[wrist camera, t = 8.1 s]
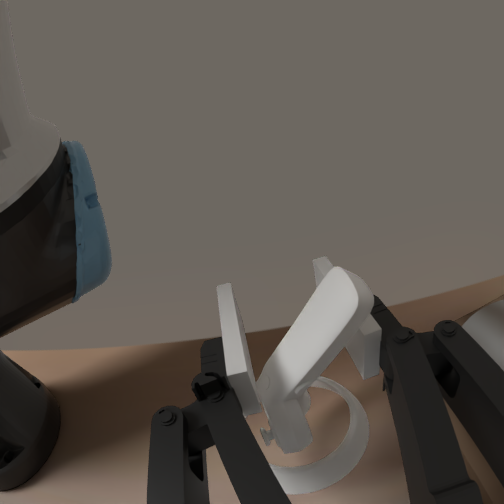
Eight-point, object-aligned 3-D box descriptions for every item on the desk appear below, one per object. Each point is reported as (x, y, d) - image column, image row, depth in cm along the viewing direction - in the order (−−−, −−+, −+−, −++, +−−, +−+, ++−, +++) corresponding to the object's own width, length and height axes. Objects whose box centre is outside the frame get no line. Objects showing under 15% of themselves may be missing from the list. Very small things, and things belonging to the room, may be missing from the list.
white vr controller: (497, 362, 10) (422, 388, 7) (343, 488, 15) (241, 517, 12) (404, 260, 16) (303, 232, 12) (298, 398, 21) (204, 403, 18)
